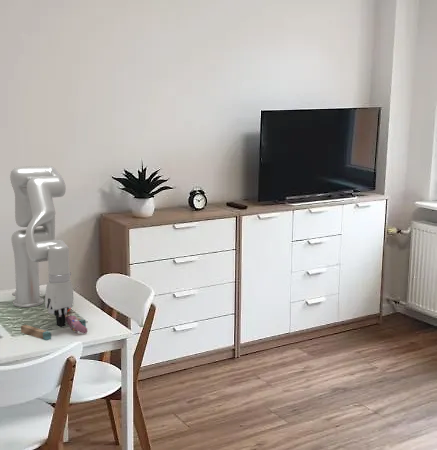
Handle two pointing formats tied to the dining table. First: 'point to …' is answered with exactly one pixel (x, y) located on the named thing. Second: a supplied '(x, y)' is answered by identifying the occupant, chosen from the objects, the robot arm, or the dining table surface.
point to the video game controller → (75, 324)
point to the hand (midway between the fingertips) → (61, 325)
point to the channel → (42, 333)
